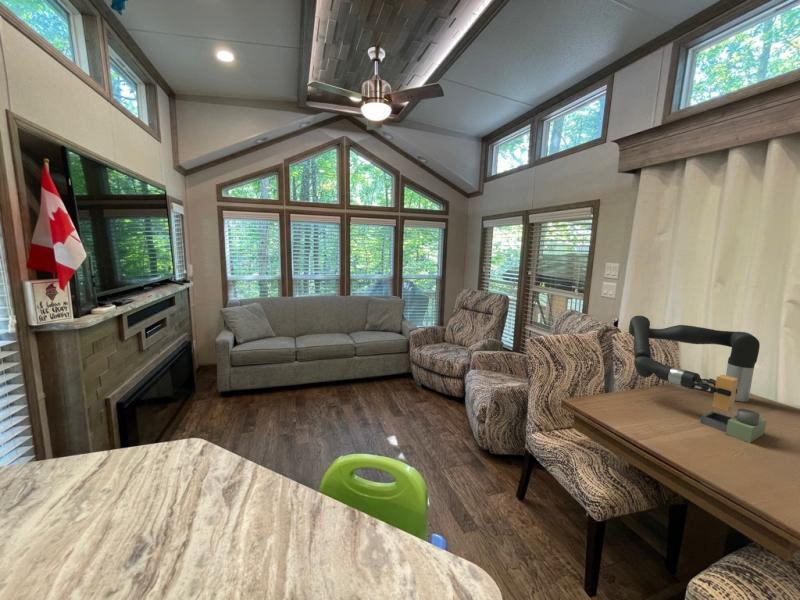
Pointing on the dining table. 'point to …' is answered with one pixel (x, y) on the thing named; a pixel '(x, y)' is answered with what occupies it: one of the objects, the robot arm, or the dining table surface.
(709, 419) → the dark grey tray
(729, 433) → the mower housing
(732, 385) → the tall orange pillar
